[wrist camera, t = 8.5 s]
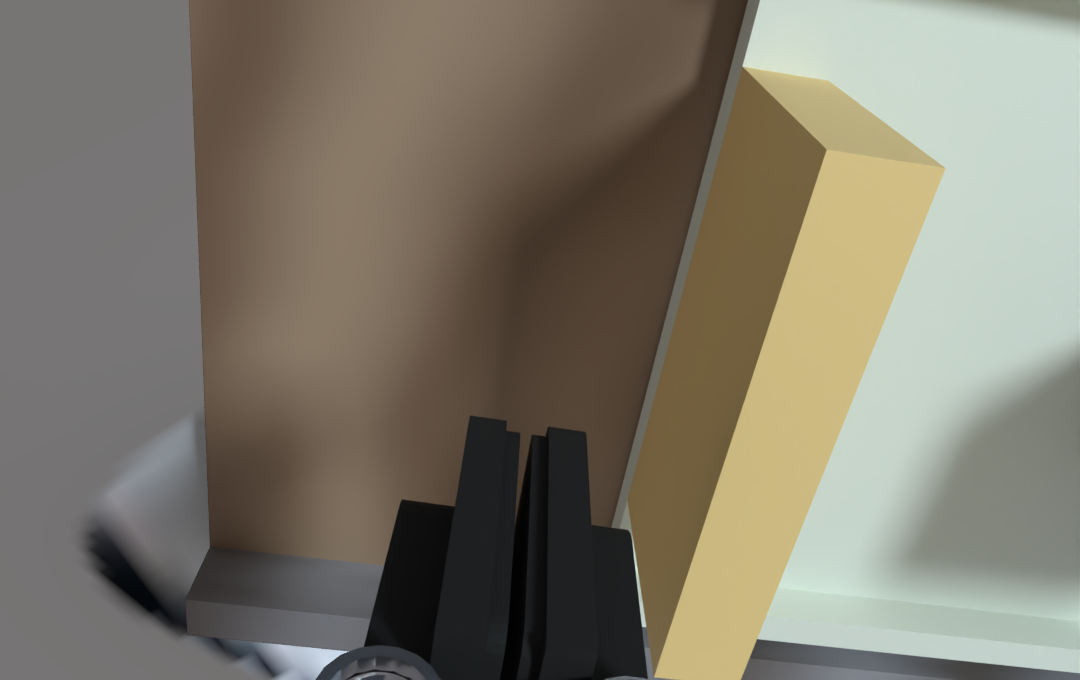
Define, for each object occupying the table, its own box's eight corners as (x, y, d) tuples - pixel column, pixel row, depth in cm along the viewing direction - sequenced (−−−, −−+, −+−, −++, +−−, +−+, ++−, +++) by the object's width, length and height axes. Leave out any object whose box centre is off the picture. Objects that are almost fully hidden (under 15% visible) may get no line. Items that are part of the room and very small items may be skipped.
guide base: (1723, -74, 16) (1938, -61, 14) (1175, 657, 26) (1243, 741, 23) (196, -376, 14) (124, -427, 11) (223, 553, 23) (187, 634, 21)
